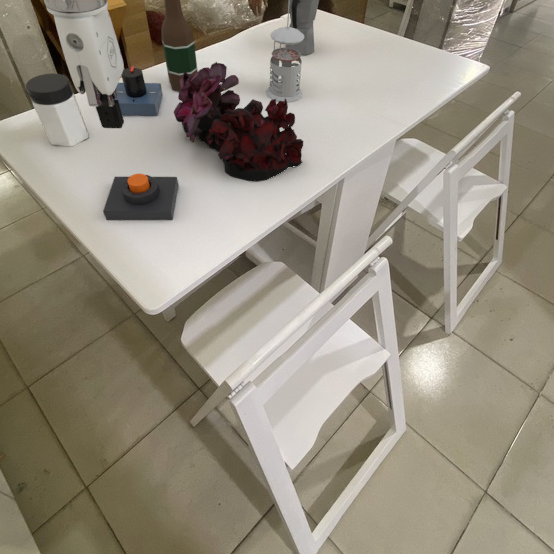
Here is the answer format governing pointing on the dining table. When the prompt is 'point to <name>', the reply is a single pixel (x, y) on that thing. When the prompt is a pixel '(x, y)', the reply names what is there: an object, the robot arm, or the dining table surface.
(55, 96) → the jar
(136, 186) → the button
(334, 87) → the dining table surface
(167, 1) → the beer bottle
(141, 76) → the temp dial
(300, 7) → the coffeepot
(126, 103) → the dial base
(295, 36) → the french press
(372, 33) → the dining table surface
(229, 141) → the flower arrangement
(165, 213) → the switch block
